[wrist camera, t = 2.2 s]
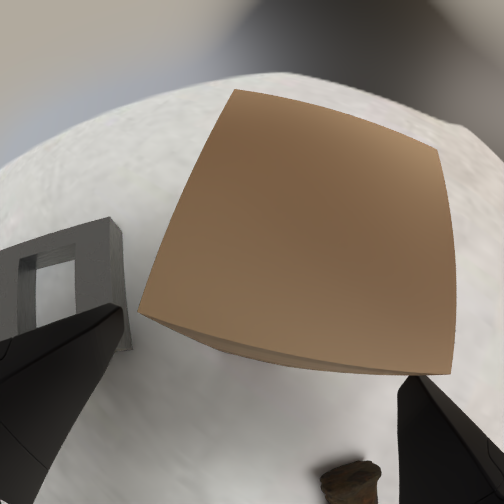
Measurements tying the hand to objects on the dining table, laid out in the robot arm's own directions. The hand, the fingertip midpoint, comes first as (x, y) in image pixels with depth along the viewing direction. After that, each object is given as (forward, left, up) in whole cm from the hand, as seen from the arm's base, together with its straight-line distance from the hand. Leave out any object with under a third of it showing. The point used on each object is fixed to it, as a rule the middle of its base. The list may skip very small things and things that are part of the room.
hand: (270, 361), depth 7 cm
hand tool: (-5, -19, -11) cm, 22 cm away
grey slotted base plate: (-12, +14, -10) cm, 21 cm away
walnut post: (+2, +1, -10) cm, 11 cm away
